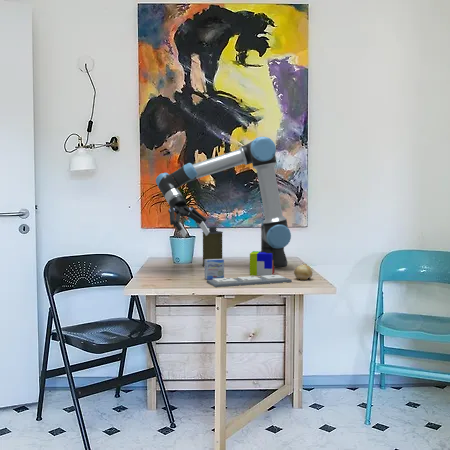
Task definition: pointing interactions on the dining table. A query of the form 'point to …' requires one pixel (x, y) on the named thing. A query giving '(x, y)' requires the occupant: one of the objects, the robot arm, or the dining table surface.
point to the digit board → (248, 280)
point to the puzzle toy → (261, 263)
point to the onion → (303, 272)
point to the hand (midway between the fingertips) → (196, 234)
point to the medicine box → (214, 268)
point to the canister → (212, 244)
